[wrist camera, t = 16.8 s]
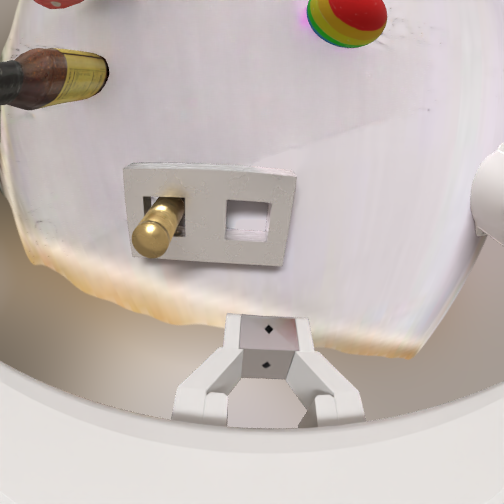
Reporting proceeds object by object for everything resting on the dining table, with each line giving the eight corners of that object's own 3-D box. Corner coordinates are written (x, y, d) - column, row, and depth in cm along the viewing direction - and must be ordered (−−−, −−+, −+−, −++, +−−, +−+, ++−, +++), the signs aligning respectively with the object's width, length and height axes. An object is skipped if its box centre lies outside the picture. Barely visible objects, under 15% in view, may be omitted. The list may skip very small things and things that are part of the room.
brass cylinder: (184, 193, 33) (166, 224, 25) (184, 222, 35) (169, 259, 28) (154, 192, 33) (129, 223, 25) (156, 221, 35) (134, 257, 27)
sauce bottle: (66, 78, 23) (-52, 94, 6) (98, 45, 22) (-18, 29, 5) (87, 110, 26) (-32, 145, 9) (122, 77, 25) (2, 77, 8)
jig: (292, 170, 32) (296, 176, 29) (279, 254, 38) (282, 266, 36) (132, 162, 31) (122, 169, 28) (139, 245, 37) (132, 256, 34)
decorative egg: (353, 63, 25) (394, 53, 16) (291, 33, 23) (311, 8, 14) (373, 16, 21) (414, -3, 12) (313, -13, 19) (338, -47, 11)
